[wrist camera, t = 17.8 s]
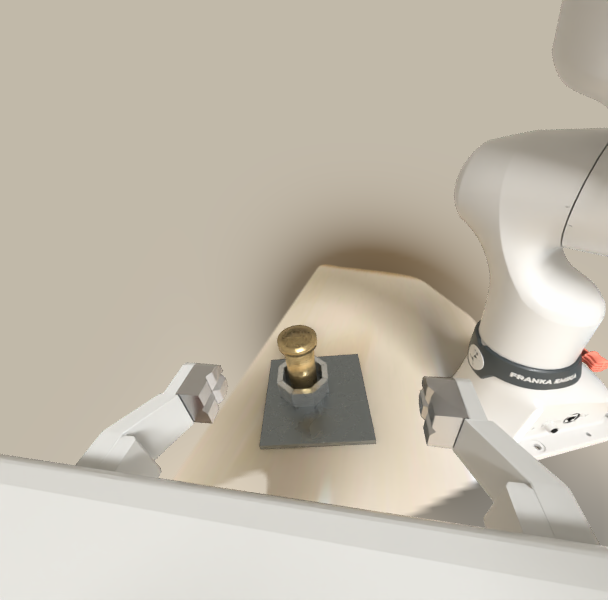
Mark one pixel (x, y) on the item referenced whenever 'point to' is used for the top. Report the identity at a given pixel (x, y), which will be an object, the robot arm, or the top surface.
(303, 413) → the flange base
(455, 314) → the top surface
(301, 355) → the brass fitting
